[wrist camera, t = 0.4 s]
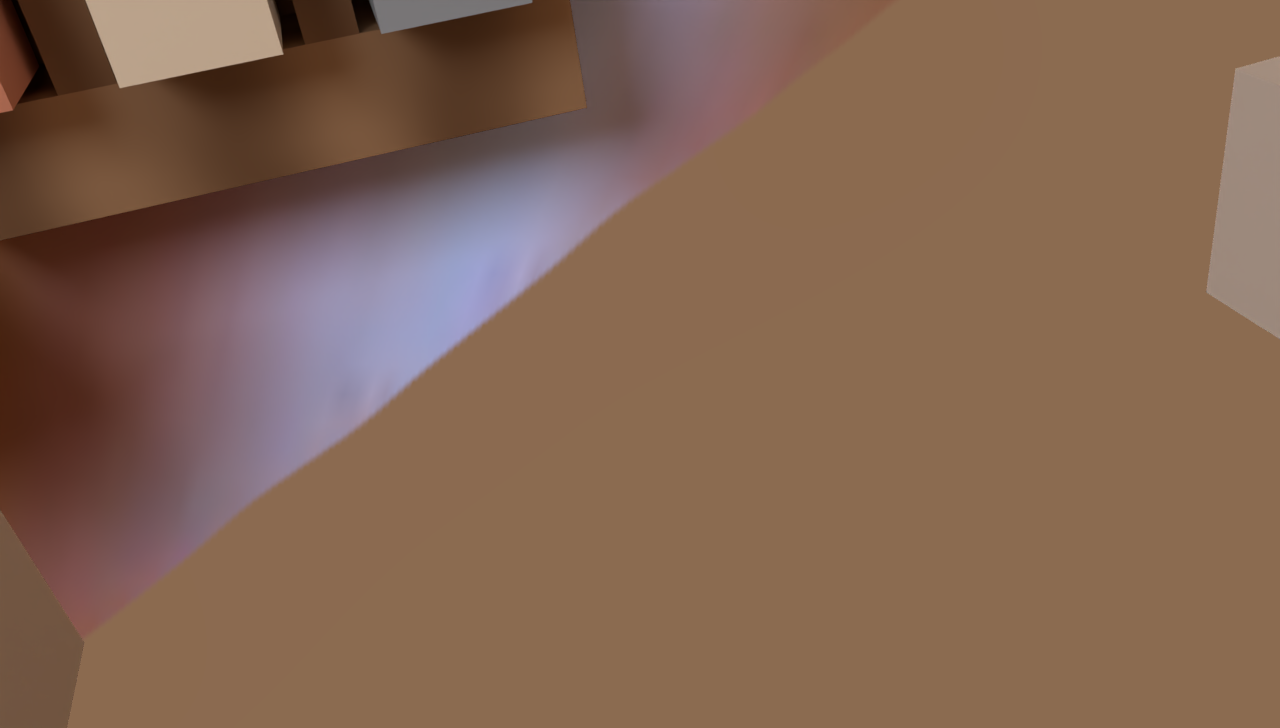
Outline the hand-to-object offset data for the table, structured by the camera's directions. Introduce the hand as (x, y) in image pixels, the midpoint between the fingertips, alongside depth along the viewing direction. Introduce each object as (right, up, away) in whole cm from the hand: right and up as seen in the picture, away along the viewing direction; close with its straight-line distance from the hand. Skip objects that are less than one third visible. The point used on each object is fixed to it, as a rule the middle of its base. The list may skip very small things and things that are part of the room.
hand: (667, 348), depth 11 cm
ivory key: (-13, +11, +19) cm, 25 cm away
